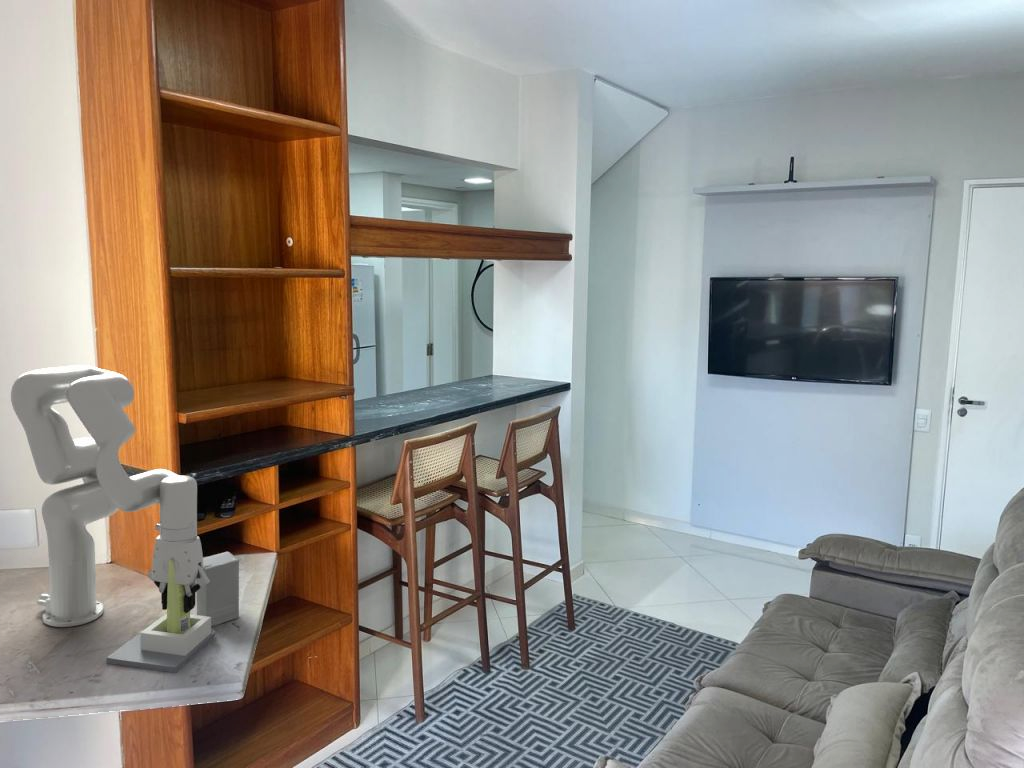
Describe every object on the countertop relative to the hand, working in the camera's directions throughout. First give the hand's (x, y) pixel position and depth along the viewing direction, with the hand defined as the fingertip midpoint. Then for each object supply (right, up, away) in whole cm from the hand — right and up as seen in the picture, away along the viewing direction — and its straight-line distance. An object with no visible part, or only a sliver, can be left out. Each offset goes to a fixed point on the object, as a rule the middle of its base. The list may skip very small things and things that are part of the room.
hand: (178, 607), depth 167 cm
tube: (0, -6, +1) cm, 7 cm away
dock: (-3, -9, -1) cm, 9 cm away
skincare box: (+3, -7, +14) cm, 16 cm away
